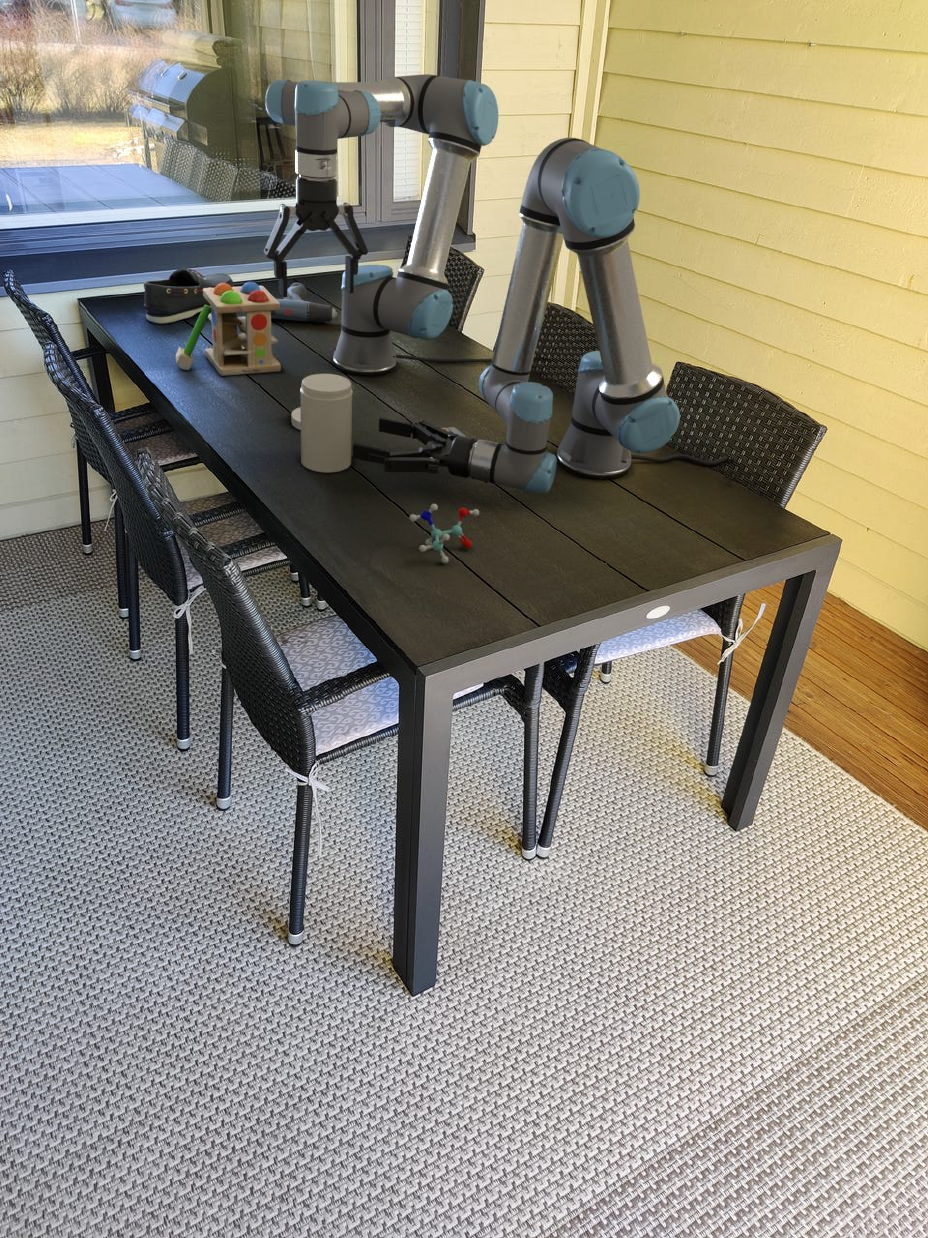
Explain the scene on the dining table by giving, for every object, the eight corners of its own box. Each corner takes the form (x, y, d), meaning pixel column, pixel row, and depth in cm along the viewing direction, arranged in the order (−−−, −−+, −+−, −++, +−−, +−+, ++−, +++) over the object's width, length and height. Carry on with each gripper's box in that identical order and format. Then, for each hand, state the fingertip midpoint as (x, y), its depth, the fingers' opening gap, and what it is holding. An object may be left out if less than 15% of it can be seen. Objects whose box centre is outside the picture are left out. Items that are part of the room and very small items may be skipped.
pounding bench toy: (183, 379, 220) (176, 299, 210) (169, 357, 231) (162, 280, 221) (282, 371, 230) (280, 294, 220) (264, 350, 240) (262, 276, 230)
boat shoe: (253, 302, 272) (251, 263, 267) (163, 325, 248) (159, 283, 243) (219, 293, 278) (216, 255, 272) (128, 316, 254) (123, 274, 248)
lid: (349, 429, 206) (349, 421, 205) (300, 435, 202) (300, 427, 201) (332, 410, 214) (332, 402, 213) (284, 415, 209) (284, 407, 208)
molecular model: (470, 557, 159) (450, 498, 158) (419, 572, 163) (399, 515, 161) (491, 545, 170) (472, 489, 168) (442, 560, 173) (424, 506, 172)
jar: (341, 476, 188) (343, 395, 179) (293, 467, 189) (292, 387, 180) (357, 455, 196) (359, 377, 187) (311, 447, 197) (311, 369, 188)
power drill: (344, 304, 276) (335, 327, 259) (277, 298, 275) (264, 321, 258) (344, 285, 273) (335, 306, 256) (277, 279, 272) (264, 300, 255)
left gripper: (256, 181, 173) (260, 302, 184) (387, 180, 183) (382, 295, 195) (244, 172, 178) (248, 290, 190) (371, 172, 188) (368, 284, 200)
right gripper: (451, 505, 175) (341, 481, 179) (488, 451, 195) (388, 431, 200) (455, 466, 171) (342, 443, 175) (492, 416, 191) (390, 396, 195)
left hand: (316, 293), depth 192 cm, fingers open, 13 cm apart
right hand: (366, 437), depth 187 cm, fingers open, 13 cm apart
